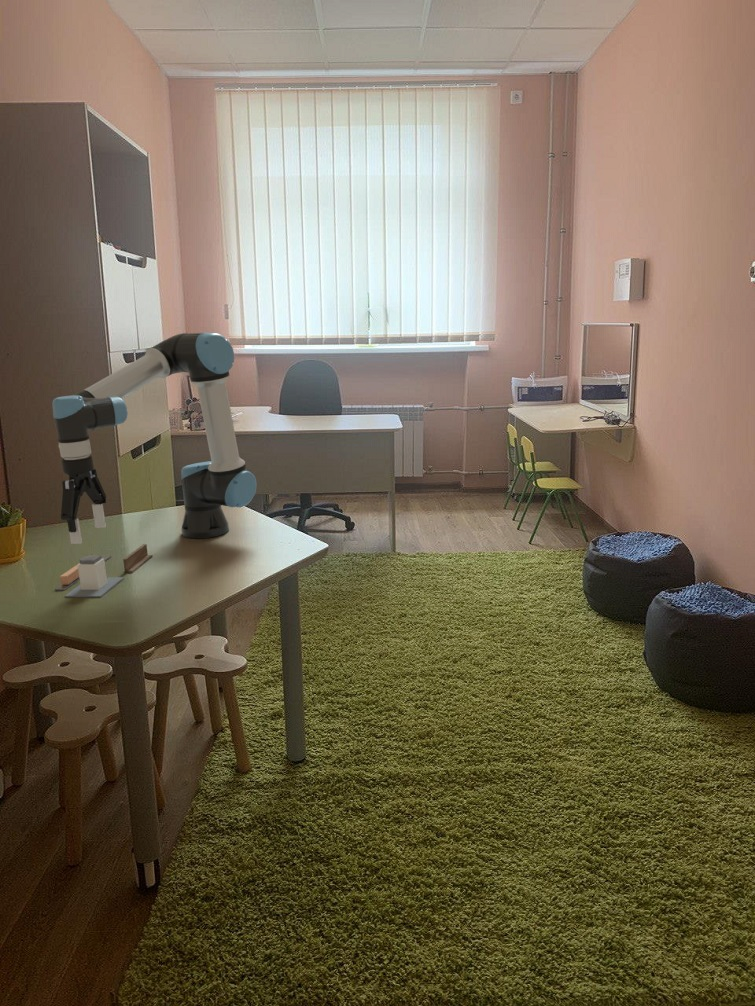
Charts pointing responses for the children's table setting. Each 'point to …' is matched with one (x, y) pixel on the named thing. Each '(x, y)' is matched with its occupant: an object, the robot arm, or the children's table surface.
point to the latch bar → (70, 575)
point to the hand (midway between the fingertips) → (89, 535)
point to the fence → (136, 559)
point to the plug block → (92, 573)
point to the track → (64, 587)
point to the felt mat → (95, 593)
